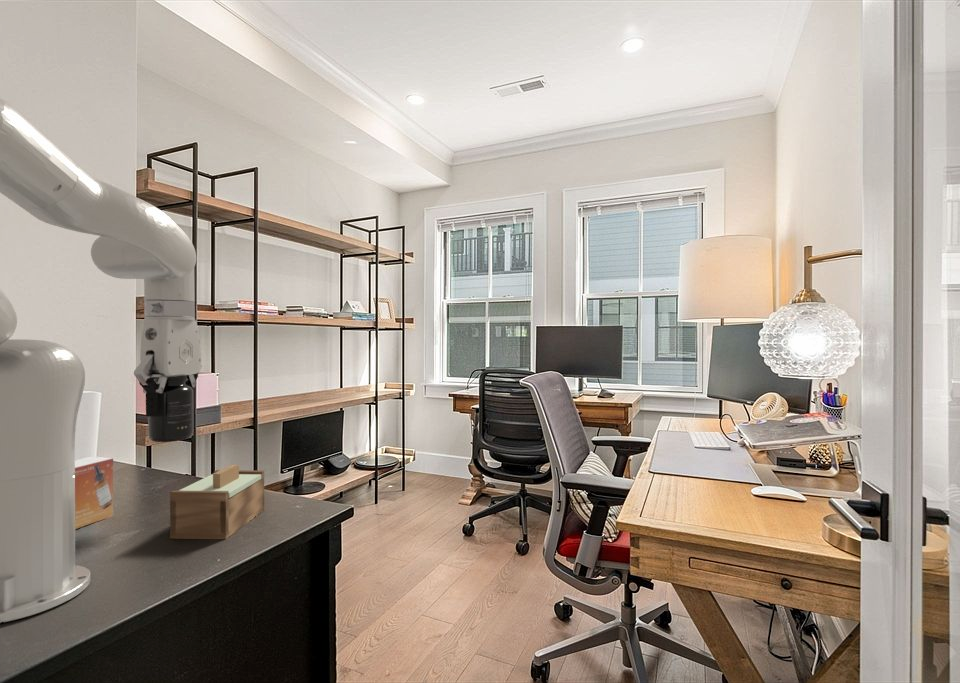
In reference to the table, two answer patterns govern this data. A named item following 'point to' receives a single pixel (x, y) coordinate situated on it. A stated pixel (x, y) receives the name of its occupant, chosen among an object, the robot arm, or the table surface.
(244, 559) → the table surface
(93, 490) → the small box
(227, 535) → the brown wooden box
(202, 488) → the lid
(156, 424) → the supplement bottle
